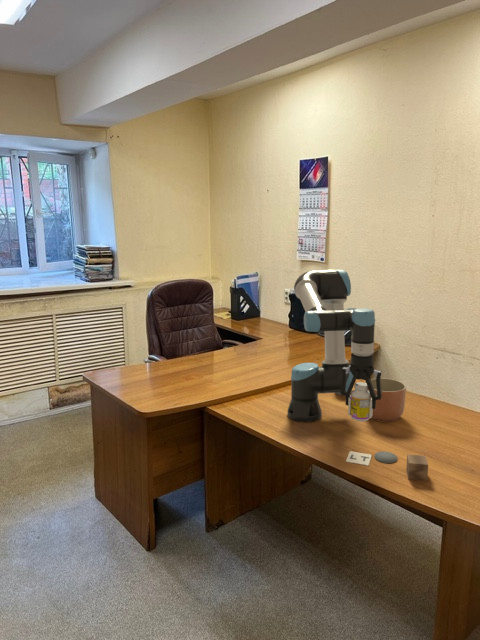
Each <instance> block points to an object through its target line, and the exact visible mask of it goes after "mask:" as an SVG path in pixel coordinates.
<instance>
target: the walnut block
mask: <svg viewBox="0 0 480 640" xmlns="http://www.w3.org/2000/svg"><path fill="white" fill-rule="evenodd" d="M405 470H406V475H407V479H408V480H412V481H413V480H414V481H421V482H424V481H425V482H428V475H429V463H428V459H427V456H426V455H418V454H406V469H405Z"/></svg>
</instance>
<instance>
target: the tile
mask: <svg viewBox="0 0 480 640" xmlns="http://www.w3.org/2000/svg"><path fill="white" fill-rule="evenodd" d="M372 456H373V455H372V454H369V453H362V452H357V451H352V450H349V453H348V455H347V457H346V460H345V463H349V464H350V463H351V464H355V465H362V466H368V467H369V466H370V463H371V459H372Z"/></svg>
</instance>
